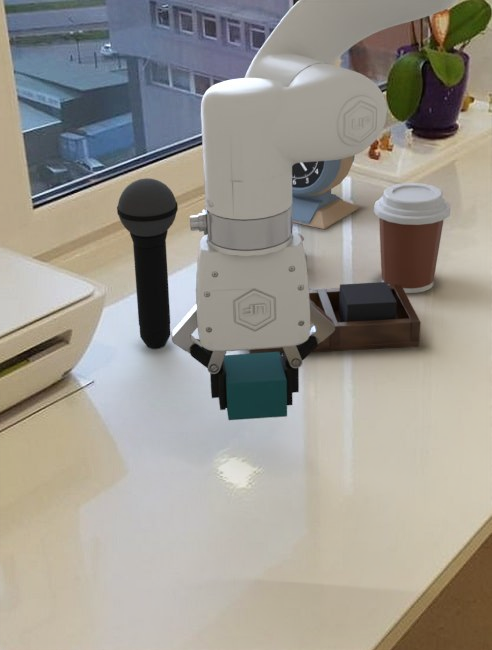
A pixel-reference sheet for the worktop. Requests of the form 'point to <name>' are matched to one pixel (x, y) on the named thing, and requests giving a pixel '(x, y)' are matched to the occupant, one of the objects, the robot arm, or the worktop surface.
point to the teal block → (255, 386)
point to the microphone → (150, 253)
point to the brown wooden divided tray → (364, 325)
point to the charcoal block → (366, 302)
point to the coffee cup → (410, 234)
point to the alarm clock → (319, 192)
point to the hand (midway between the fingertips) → (254, 398)
